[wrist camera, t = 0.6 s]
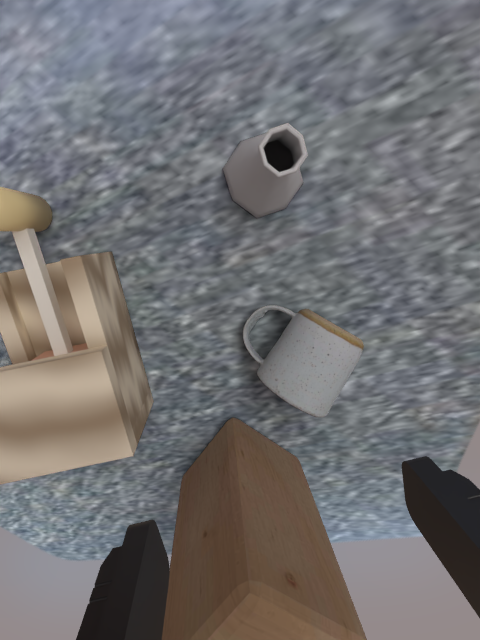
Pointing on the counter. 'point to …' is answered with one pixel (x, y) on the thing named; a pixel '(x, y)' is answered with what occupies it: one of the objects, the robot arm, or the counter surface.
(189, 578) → the wooden block
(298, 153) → the flask
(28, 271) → the pull block
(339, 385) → the ceramic mug
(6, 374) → the shelf
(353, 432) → the counter surface
